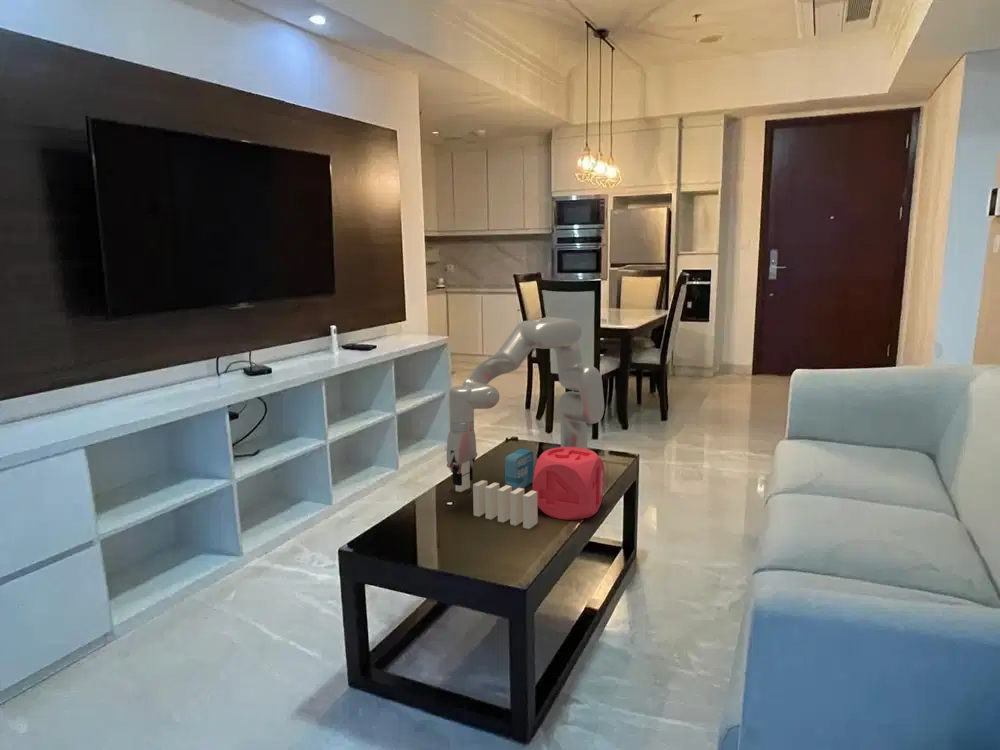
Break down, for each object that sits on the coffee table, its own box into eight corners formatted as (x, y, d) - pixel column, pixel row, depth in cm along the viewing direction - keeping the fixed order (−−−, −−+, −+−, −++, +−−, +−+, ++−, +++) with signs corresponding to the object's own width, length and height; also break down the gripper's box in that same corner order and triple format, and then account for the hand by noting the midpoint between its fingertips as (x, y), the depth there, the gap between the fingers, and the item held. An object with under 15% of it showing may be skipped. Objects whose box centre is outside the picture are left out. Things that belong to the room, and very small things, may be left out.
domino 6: (523, 527, 197) (522, 495, 195) (531, 521, 201) (531, 490, 199) (528, 529, 195) (528, 496, 194) (537, 523, 200) (537, 491, 198)
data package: (516, 492, 225) (516, 458, 223) (505, 490, 228) (504, 456, 226) (533, 482, 235) (533, 449, 233) (522, 480, 238) (522, 447, 236)
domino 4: (497, 521, 201) (497, 489, 200) (506, 515, 206) (506, 485, 204) (503, 522, 200) (502, 491, 199) (512, 517, 204) (511, 486, 203)
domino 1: (455, 490, 208) (454, 460, 207) (464, 486, 213) (464, 456, 211) (460, 492, 207) (460, 461, 206) (470, 487, 211) (469, 457, 210)
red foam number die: (588, 524, 198) (588, 466, 195) (532, 515, 206) (531, 459, 203) (604, 503, 214) (605, 450, 211) (552, 496, 222) (552, 444, 219)
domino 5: (510, 524, 199) (509, 492, 197) (519, 518, 203) (518, 487, 201) (515, 525, 198) (515, 493, 196) (524, 520, 202) (524, 488, 200)
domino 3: (485, 518, 204) (484, 487, 202) (494, 513, 208) (494, 482, 206) (490, 519, 203) (490, 488, 201) (499, 514, 207) (499, 483, 205)
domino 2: (473, 515, 206) (472, 484, 204) (482, 510, 210) (482, 479, 209) (478, 516, 205) (478, 485, 203) (488, 511, 209) (487, 481, 208)
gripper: (468, 419, 215) (469, 473, 219) (435, 430, 201) (436, 487, 205) (487, 422, 211) (487, 477, 215) (455, 433, 197) (456, 492, 201)
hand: (462, 481), depth 210 cm, fingers closed on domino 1, 4 cm apart
